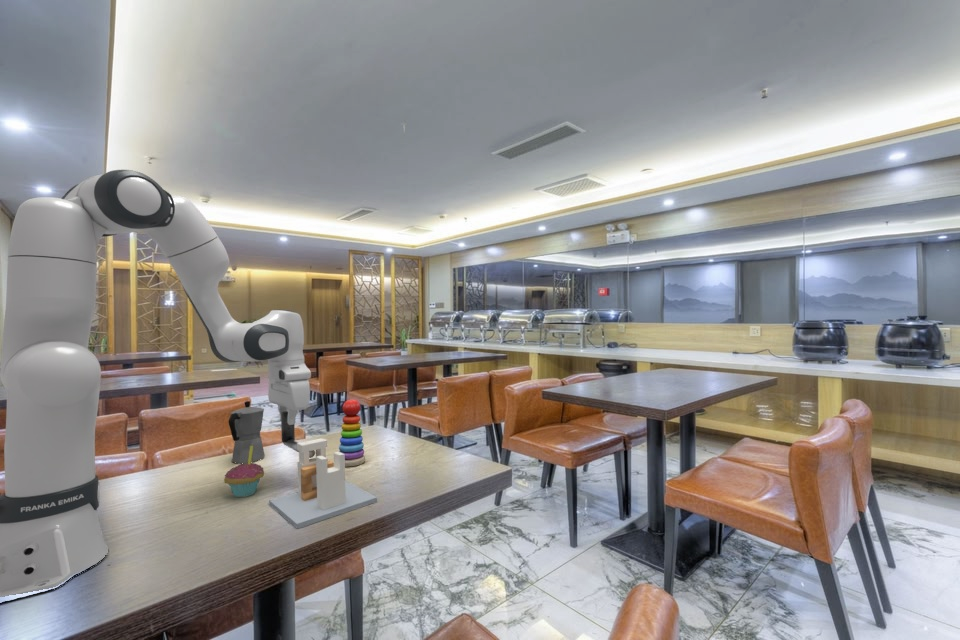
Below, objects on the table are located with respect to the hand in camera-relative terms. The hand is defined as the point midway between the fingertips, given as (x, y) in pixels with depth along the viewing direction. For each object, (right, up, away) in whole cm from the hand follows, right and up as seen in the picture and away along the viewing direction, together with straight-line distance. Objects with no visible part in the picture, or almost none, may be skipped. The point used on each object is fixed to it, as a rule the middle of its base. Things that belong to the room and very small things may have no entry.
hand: (287, 422), depth 114 cm
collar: (+13, -14, -14) cm, 23 cm away
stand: (+15, -15, -16) cm, 26 cm away
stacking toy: (+13, -15, +13) cm, 24 cm away
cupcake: (-7, -15, -9) cm, 19 cm away
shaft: (+5, -6, -5) cm, 9 cm away
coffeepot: (-21, -16, +18) cm, 32 cm away
